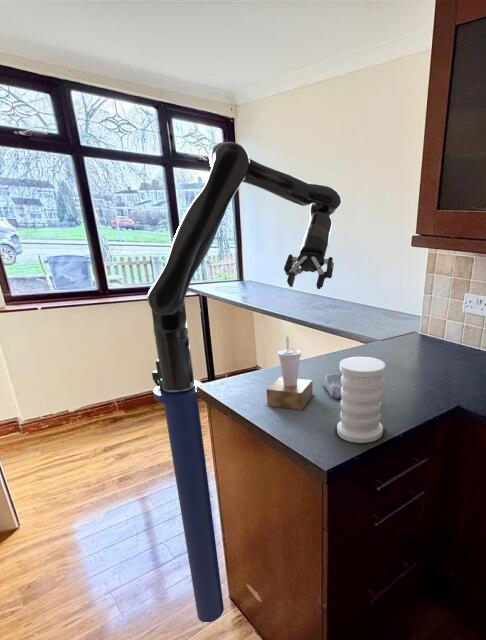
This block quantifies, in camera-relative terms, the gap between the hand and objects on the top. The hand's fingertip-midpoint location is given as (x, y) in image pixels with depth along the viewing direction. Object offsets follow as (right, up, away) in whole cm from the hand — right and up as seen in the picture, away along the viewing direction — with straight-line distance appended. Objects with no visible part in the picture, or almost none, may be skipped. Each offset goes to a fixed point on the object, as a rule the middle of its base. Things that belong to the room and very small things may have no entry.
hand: (304, 286), depth 118 cm
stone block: (+11, -31, +7) cm, 34 cm away
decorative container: (+17, -41, -16) cm, 47 cm away
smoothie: (-4, -29, -3) cm, 29 cm away
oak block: (-4, -33, -1) cm, 34 cm away
